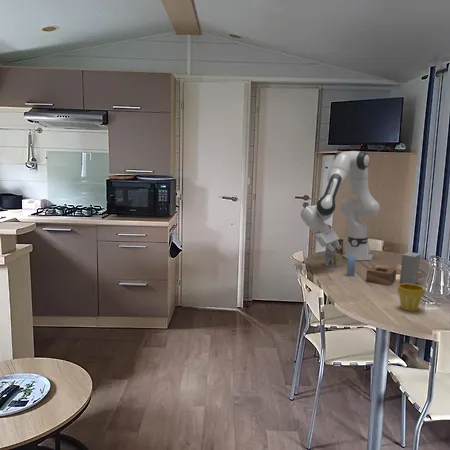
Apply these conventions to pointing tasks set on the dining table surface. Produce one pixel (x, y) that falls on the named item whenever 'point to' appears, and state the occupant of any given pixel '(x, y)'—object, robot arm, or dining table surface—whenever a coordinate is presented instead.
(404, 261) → the skincare box
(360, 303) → the dining table surface
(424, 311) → the dining table surface
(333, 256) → the coffee box
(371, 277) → the socket block
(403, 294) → the plant pot
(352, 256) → the pin
